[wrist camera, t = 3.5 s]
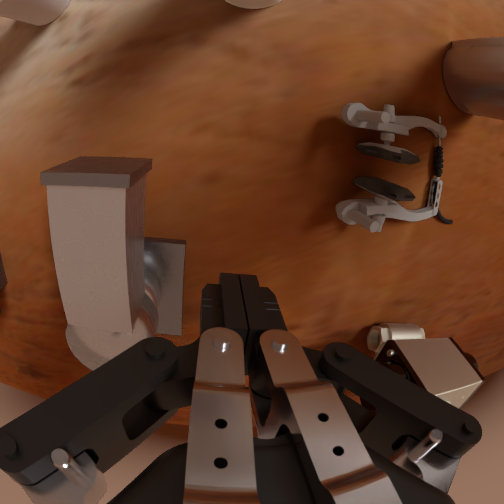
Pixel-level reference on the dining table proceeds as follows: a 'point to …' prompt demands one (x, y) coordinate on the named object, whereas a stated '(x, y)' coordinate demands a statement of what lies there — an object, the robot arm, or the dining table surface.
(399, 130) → the bike brake
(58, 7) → the white cup
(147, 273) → the duct stub
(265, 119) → the dining table surface
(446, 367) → the ball valve
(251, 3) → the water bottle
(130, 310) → the elbow
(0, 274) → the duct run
